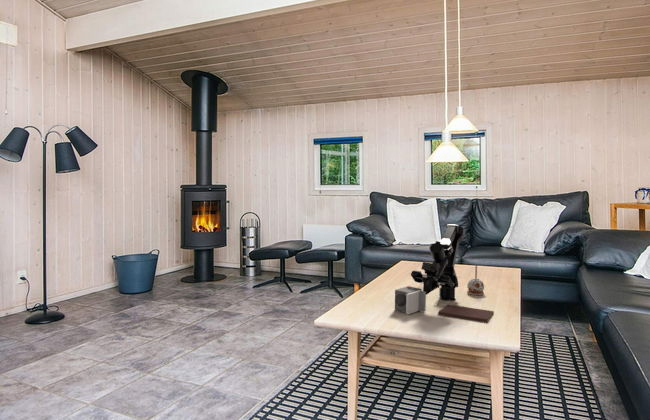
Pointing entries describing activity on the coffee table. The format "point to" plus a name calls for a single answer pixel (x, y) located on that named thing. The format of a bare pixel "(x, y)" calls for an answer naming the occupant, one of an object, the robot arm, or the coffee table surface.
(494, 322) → the coffee table surface
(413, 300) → the door
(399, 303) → the block
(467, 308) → the notebook
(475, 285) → the decorative ornament
